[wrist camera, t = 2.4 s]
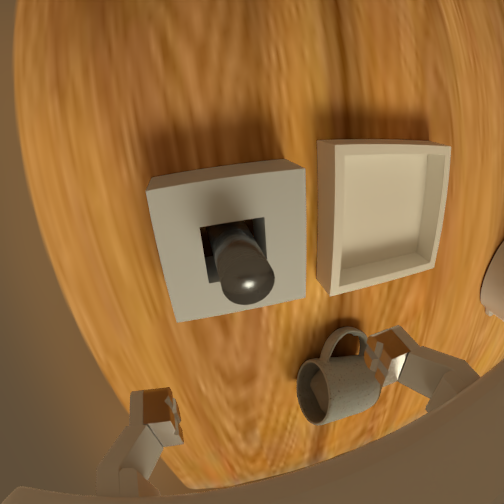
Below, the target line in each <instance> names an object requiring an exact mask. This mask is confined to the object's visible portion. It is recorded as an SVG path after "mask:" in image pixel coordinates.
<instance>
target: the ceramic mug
mask: <svg viewBox="0 0 504 504" xmlns="http://www.w3.org/2000/svg"><path fill="white" fill-rule="evenodd" d="M347 333H349V334H352V335H353V336H358V337H359V340H360V350H359V355H350V356H342V357H330V356H331V354H332V352H333V349H334V347H335V345H336V344H337V342H338V341H339V340H340V339H341V338H342V337H343V336H344V335H346V334H347ZM367 339H368V338H367V336H366V335H365V334H364V333H363V332H362V331H361V330H358V329H356V328H354V327H342V328H339V329H337V330H335V331H334V332H333V333H332V334H331V335H330V336H329V337H328V339H327V340H326V342H325V344H324V346H323V349H322V352H321V355H320V358H315V359H309V360H307V361H305V362H304V363H303V364H302V366H301V368H300V370H299V373H298V376H297V397H298V401H299V405H300V408H301V410H302V412H303V414H304V416H305V417H306V418H307V420H308V421H309V422H310V423H312V424H314V425H323V424H326V423H329V422H332V421H336V420H339V419H342V418H345V417H348V416H351V415H354V414H357V413H360V412H363V411H365V410H367V409H368V408H370V407H372V406H373V405H374V404H375V403H376V402H377V400H378V399H379V396H380V393H381V389H382V387H381V385H380V384H379V382H378V381H377V380H376V378H375V372H373V371H371V370H369V368H368V367H367V365H366V363H365V360H364V352H365V349H366V348H367V347H368V344H367Z"/></svg>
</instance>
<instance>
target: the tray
mask: <svg viewBox="0 0 504 504" xmlns="http://www.w3.org/2000/svg"><path fill="white" fill-rule="evenodd" d="M450 156H451V146H447V145H444V144H440V143H436V142H432V141H423V140H399V139H336V140H317V165H318V241H317V275H316V279H317V280H318V281H319V283H320V284H321V285H322V287H323V288H324V289H325V291H326V292H327V293H328V294H329V296H333V295H338V294H342V293H345V292H349V291H353V290H357V289H361V288H365V287H369V286H372V285H376V284H380V283H383V282H387V281H391V280H394V279H398V278H401V277H405V276H408V275H411V274H415V273H418V272H422V271H425V270H428V269H432V268H434V264H435V260H436V255H437V251H438V246H439V241H440V235H441V230H442V224H443V218H444V211H445V204H446V197H447V189H448V180H449V169H450Z"/></svg>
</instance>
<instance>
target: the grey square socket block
mask: <svg viewBox="0 0 504 504" xmlns="http://www.w3.org/2000/svg"><path fill="white" fill-rule="evenodd" d="M146 196H147V201H148V206H149V211H150V216H151V221H152V225H153V230H154V235H155V239H156V244H157V248H158V252H159V256H160V261H161V265H162V269H163V273H164V277H165V281H166V285H167V288H168V292H169V296H170V300H171V303H172V307H173V310H174V314H175V317H176V321H177V323H178V322H184V321H189V320H195V319H201V318H207V317H212V316H217V315H223V314H228V313H233V312H239V311H244V310H249V309H254V308H259V307H263V306H268V305H273V304H278V303H282V302H287V301H291V300H296V299H300V298H305V296H306V176H305V168H303V167H301V166H299V165H297V164H295V163H293V162H291V161H289V160H287V159H277V160H267V161H258V162H249V163H241V164H233V165H225V166H218V167H211V168H204V169H198V170H191V171H185V172H179V173H173V174H168V175H162V176H157V177H152V178H151V180H150V182H149V184H148V187H147V189H146ZM247 219H252V221H253V233H254V239H255V240H256V242H257V244H258V245H259V247H260V249H261V251H262V252H263V254H264V256H265V257H266V259H267V261H268V263H269V264H270V266H271V268H272V269H273V272H274V275H275V282H274V286H273V288H272V290H271V292H270V293H269V294H268V295H267V296H266V297H265V298H264V299H263V300H261V301H259V302H257V303H254V304H250V305H239V304H236V303H233V302H231V301H230V300H228V299H227V298H226V296H225V295H224V293H223V291H222V287H221V283H220V280H219V276H218V272H217V268H216V264H215V260H214V256H209V257H204V252H203V246H202V240H201V233H200V227H204V226H210V225H216V224H222V223H229V222H235V221H241V220H247Z"/></svg>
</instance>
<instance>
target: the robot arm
mask: <svg viewBox="0 0 504 504" xmlns="http://www.w3.org/2000/svg"><path fill="white" fill-rule="evenodd" d="M481 303H482V304H483V305H484V306H485V308H486V314H487V315H488V316H492V315H493V314H494V315H496V316H497V317H498V318H500V319H501V320H503V321H504V241H503V243H502V244H501V245H500V247H499V249H498V250H497V252H496V254H495V255H494V257H493V259H492V261H491V263H490V266H489V268H488V270H487V273H486V275H485V278H484V281H483V285H482V289H481ZM367 344H368V347H367V348H366V349H365V352H364V360H365V363H366V365H367V367H368V368H369V370H371V371H373V372H375V378H376V380H377V381H378V382H379V384H380V385H381V387H384V386H387V385H389V384H391V383H394V382H396V381H398V382H400V383H401V384H403V385H405V386H407V387H409V388H411V389H413V390H415V391H417V392H418V393H420V394H422V395H424V396H426V397H428V398H430V401H429V402H428V404H427V406H426V411H427V412H428V413H427V414H425V415H423V416H422V417H420V418H418V419H416V420H415V421H413V422H411V423H409V424H407V425H405V426H404V427H402V428H400V429H398V430H396V431H394V432H392V433H390V434H388V435H386V436H384V437H382V438H380V439H378V440H376V441H373V442H371V443H369V444H367V445H365V446H362V447H360V448H358V449H355V450H353V451H351V452H348V453H346V454H343V455H341V456H338V457H336V458H333V459H330V460H328V461H325V462H322V463H320V464H317V465H314V466H311V467H308V468H304V469H302V470H298V471H295V472H292V473H288V474H285V475H281V476H278V477H274V478H270V479H266V480H262V481H258V482H254V483H249V484H245V485H240V486H235V487H229V488H224V489H218V490H212V491H205V492H198V493H189V494H180V495H168V496H160V491H159V490H158V489H157V488H155V487H154V486H153V485H152V484H151V483H150V482H149V481H148V479H149V477H150V475H151V472H152V470H153V469H154V466H155V464H156V463H157V460H158V458H159V456H160V454H161V452H162V450H163V447H167V446H174V445H180V444H184V440H183V432H182V429H181V427H180V425H179V423H180V422H181V417H180V411H179V407H178V404H177V402H176V399H174V398H173V396H172V391H171V389H170V387H167V388H158V389H149V390H140V391H132V392H131V395H130V424H129V426H126V427H125V429H124V430H123V431H122V433H121V434H120V435H119V437H118V438H117V440H116V441H115V442H114V444H113V445H112V447H111V448H110V449H109V451H108V452H107V454H106V455H105V456H104V458H103V459H102V461H101V462H100V463H99V465H98V466H97V471H96V496H85V495H75V494H66V493H59V492H52V491H45V490H39V489H34V488H29V487H22V486H21V487H18V488H16V489H15V490H14V491H13V492H12V493H11V494H10V495H9V496H8V497H7V498H6V499H5V500H4V501H3V502H2V504H504V359H503V360H502V361H501V362H499V363H498V364H497V365H496V366H494V367H493V368H492V369H491V370H489V371H488V372H487V373H486V374H484V375H483V376H482V377H480V376H479V375H478V374H477V373H476V372H475V371H474V370H473V369H472V368H471V367H470V366H469V364H468V363H467V362H466V361H465V360H462V359H459V358H456V357H453V356H450V355H447V354H444V353H441V352H438V351H436V350H433V349H430V348H427V347H424V346H422V347H420V346H419V345H418V344H417V343H416V342H415V341H414V340H413V339H412V338H411V337H410V335H409V334H408V333H407V332H406V331H405V330H404V329H403V328H402V327H401V326H399V325H397V326H394V327H392V328H389V329H386V330H383V331H381V332H378V333H376V334H373V335H370V336H369V337H368V339H367Z"/></svg>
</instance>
